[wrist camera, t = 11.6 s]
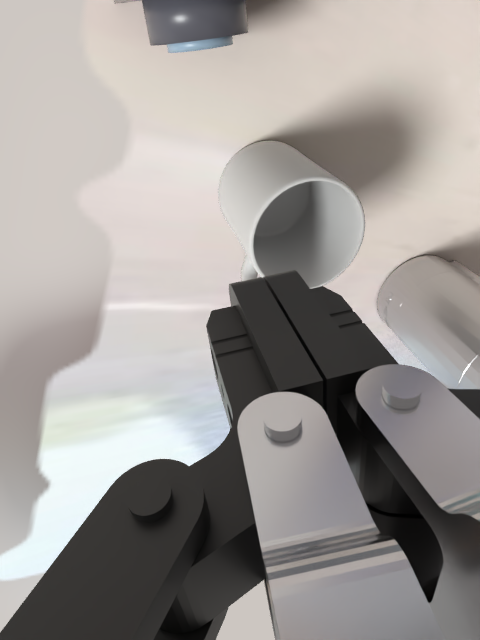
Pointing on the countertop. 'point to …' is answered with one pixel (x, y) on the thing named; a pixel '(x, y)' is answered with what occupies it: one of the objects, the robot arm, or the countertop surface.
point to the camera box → (193, 23)
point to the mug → (290, 214)
